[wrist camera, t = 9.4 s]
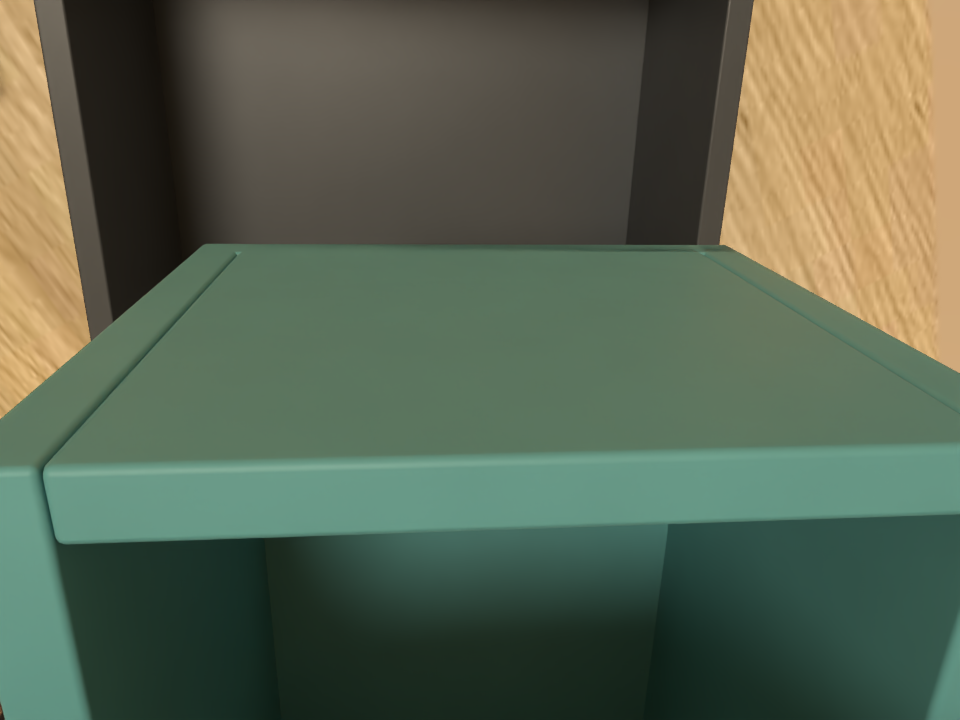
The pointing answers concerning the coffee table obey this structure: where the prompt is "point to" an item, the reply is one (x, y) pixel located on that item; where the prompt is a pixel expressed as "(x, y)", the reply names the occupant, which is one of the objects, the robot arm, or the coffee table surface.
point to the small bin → (482, 496)
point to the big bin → (385, 125)
